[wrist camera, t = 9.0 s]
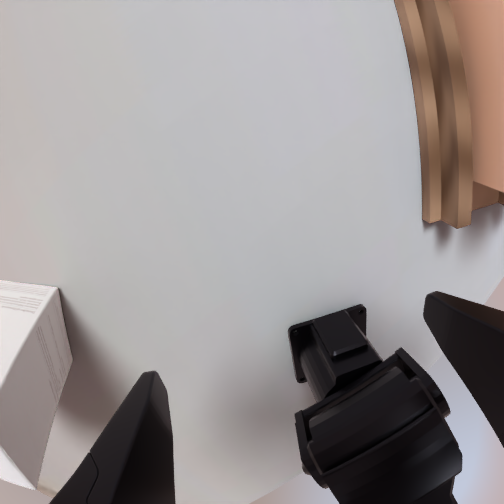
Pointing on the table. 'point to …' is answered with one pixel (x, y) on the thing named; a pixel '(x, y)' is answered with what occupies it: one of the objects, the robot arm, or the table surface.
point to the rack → (442, 114)
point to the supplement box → (29, 376)
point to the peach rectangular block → (484, 83)
